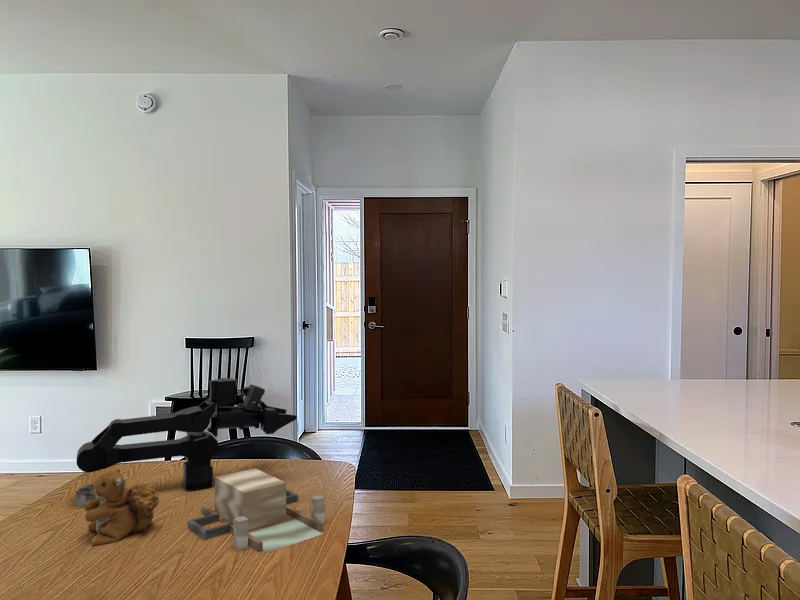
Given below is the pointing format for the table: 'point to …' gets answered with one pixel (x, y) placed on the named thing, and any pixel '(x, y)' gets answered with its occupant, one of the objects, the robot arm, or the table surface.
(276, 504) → the maple block
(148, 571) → the table surface
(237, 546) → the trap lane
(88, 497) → the egg carton
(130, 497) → the stuffed squirrel
